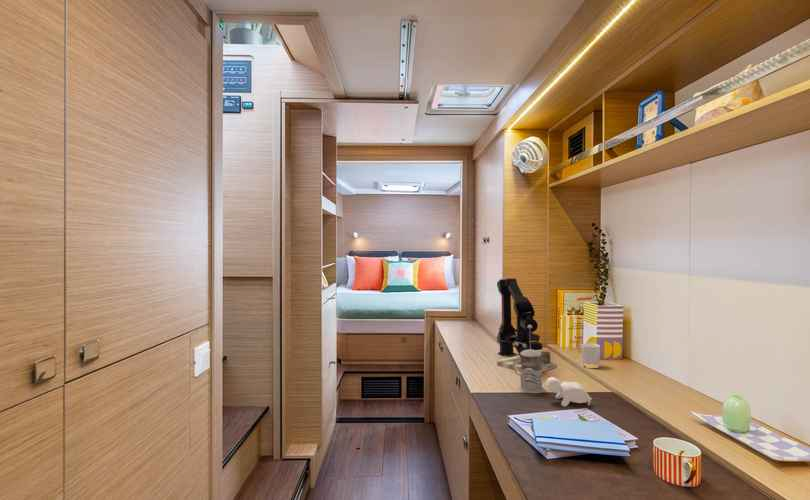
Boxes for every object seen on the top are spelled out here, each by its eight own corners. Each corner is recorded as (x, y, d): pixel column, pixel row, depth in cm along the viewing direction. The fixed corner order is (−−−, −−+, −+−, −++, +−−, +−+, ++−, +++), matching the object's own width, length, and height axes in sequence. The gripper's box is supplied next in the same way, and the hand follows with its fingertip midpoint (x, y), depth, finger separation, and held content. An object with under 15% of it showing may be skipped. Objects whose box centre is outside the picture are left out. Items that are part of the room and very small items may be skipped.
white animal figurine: (578, 406, 142) (538, 390, 144) (587, 384, 142) (547, 369, 144) (587, 416, 134) (544, 399, 135) (596, 393, 134) (553, 376, 135)
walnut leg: (546, 359, 185) (546, 351, 185) (552, 361, 182) (551, 352, 182) (520, 364, 178) (520, 355, 179) (526, 366, 175) (525, 357, 175)
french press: (547, 393, 147) (544, 327, 148) (515, 392, 150) (512, 326, 150) (543, 385, 157) (541, 322, 157) (513, 384, 159) (511, 322, 160)
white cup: (578, 365, 182) (577, 344, 183) (590, 363, 186) (589, 342, 186) (592, 370, 175) (591, 347, 175) (604, 367, 179) (603, 345, 179)
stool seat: (496, 364, 187) (496, 352, 187) (521, 358, 197) (521, 346, 197) (531, 374, 171) (531, 361, 171) (556, 367, 181) (556, 354, 181)
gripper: (551, 329, 176) (551, 364, 176) (522, 322, 193) (523, 354, 193) (532, 332, 172) (532, 367, 172) (504, 324, 189) (504, 356, 189)
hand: (523, 361), depth 182 cm, fingers closed
